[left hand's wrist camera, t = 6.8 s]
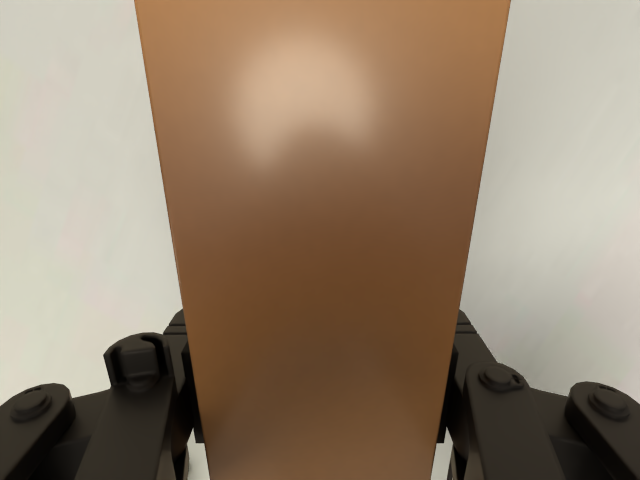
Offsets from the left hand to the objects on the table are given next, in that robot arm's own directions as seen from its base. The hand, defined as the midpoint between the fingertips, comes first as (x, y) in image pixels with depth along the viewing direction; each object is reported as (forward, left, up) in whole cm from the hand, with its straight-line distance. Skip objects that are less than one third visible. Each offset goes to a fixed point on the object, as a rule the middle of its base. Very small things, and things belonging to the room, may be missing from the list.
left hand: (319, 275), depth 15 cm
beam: (+23, -5, -1) cm, 23 cm away
